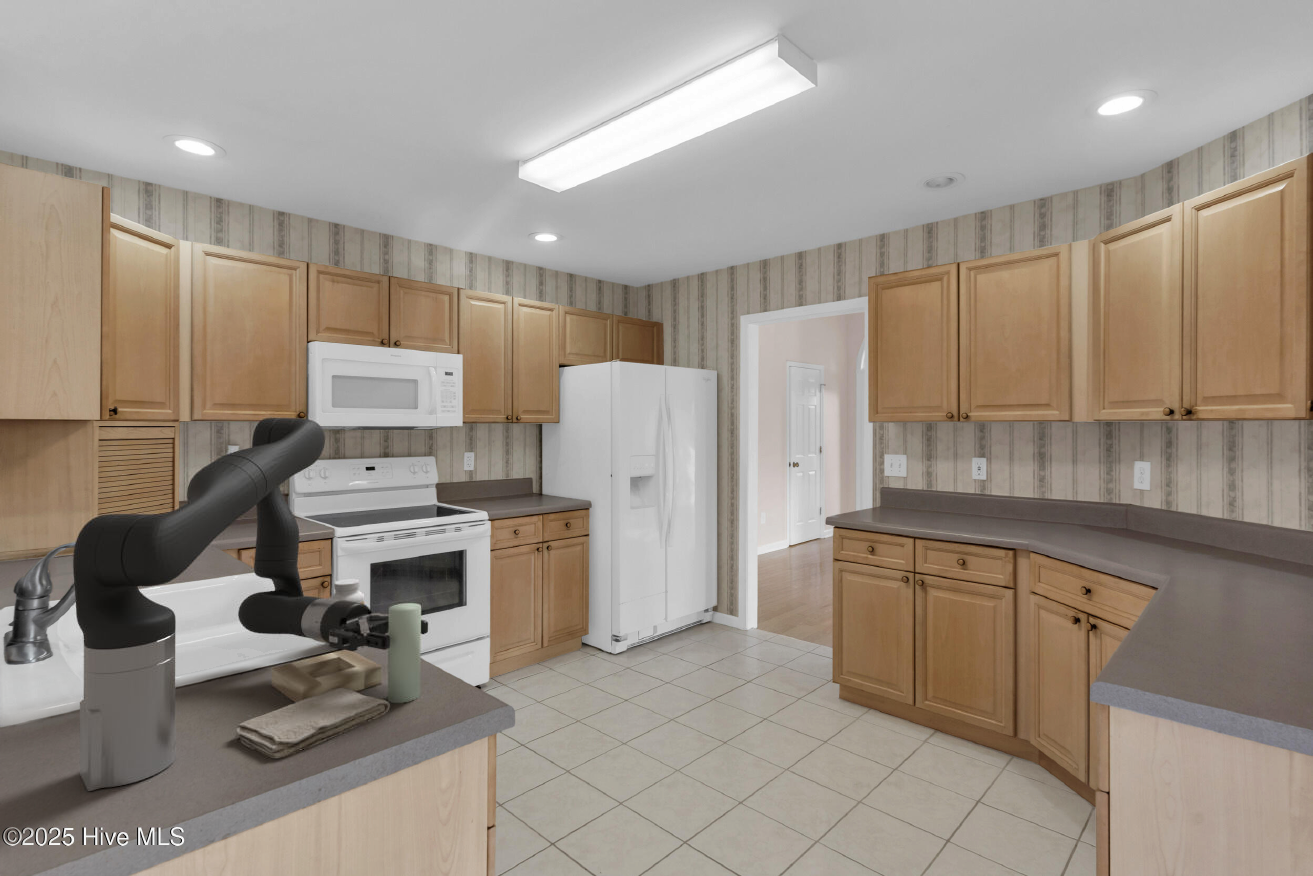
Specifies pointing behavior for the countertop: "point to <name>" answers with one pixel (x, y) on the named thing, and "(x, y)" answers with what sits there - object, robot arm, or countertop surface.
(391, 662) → the green cylinder
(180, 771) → the countertop surface
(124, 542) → the robot arm
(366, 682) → the pocket block
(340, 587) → the supplement bottle
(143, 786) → the countertop surface
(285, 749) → the washcloth
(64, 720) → the countertop surface
